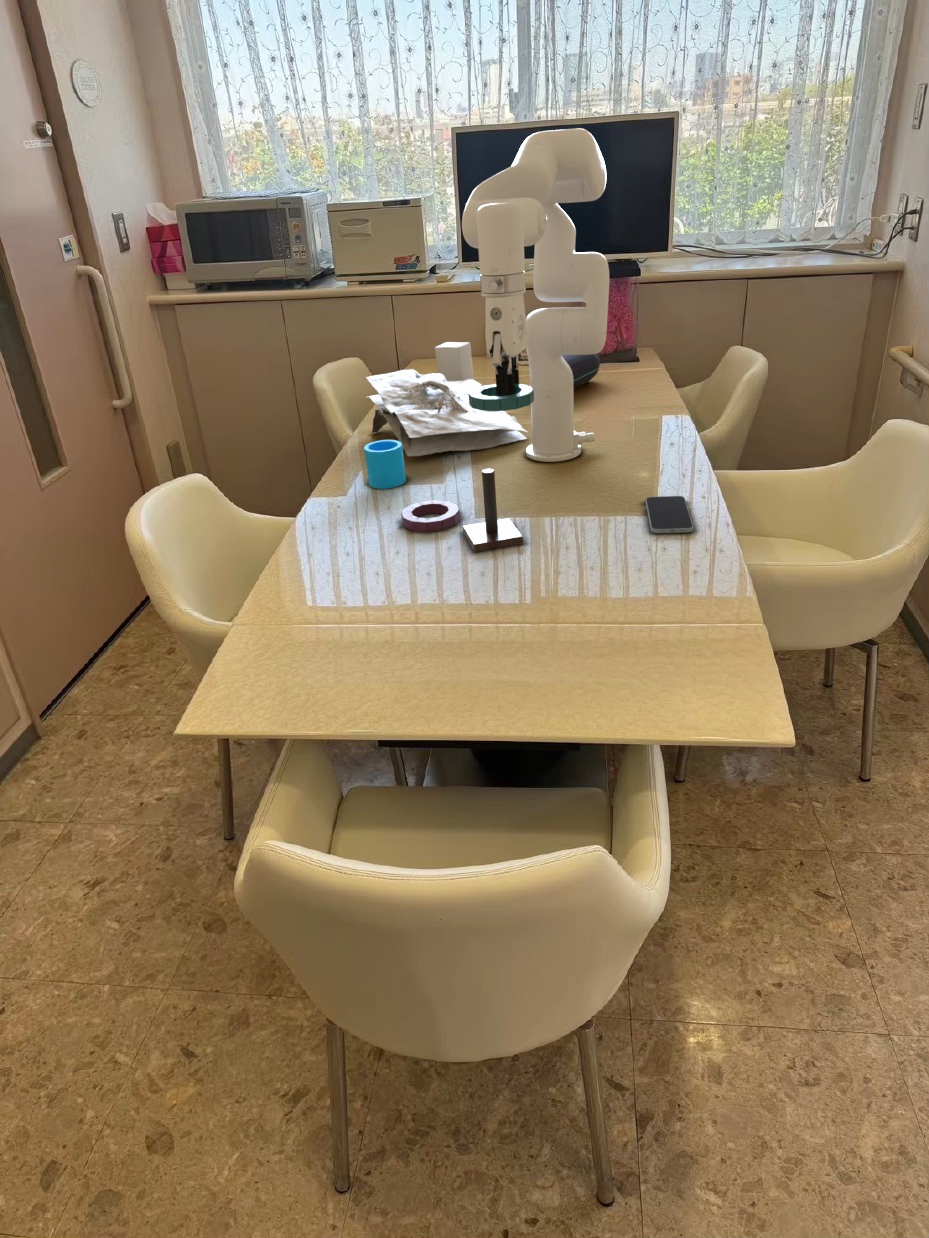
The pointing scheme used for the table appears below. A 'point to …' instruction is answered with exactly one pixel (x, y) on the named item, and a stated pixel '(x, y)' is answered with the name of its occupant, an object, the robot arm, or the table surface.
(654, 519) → the smartphone
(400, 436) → the plastic wrap
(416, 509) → the plum ring
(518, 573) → the table surface
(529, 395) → the teal ring
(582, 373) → the portable speaker
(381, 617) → the table surface
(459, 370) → the cosmetic box
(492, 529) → the peg stand
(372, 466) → the mug
